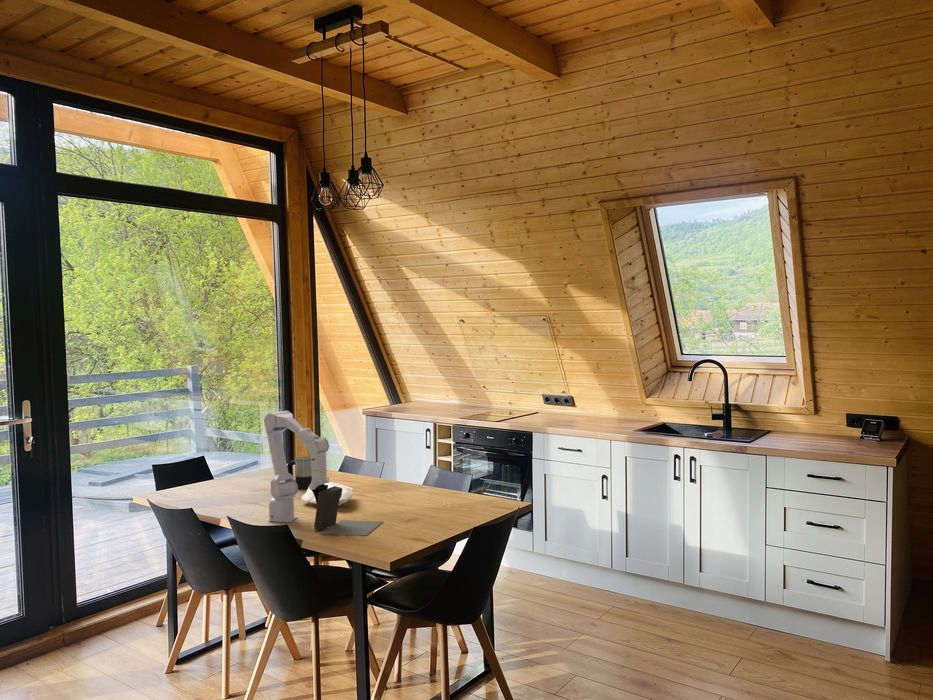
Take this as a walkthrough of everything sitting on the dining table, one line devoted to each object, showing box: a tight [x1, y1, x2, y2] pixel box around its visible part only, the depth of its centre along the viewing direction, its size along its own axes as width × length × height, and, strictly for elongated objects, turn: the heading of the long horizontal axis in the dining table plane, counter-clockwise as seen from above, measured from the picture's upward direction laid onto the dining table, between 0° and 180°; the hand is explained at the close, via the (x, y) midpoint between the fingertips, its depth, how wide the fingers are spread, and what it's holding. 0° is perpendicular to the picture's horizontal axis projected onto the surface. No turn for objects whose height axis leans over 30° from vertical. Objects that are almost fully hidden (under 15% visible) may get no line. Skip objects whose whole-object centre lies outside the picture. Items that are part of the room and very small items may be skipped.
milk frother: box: [287, 456, 312, 490], centre depth 360 cm, size 14×16×15 cm
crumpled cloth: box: [300, 481, 355, 507], centre depth 329 cm, size 24×35×9 cm
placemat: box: [320, 519, 384, 537], centre depth 286 cm, size 18×20×1 cm
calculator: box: [313, 486, 342, 532], centre depth 288 cm, size 11×4×15 cm, turn 159°
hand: (320, 504), depth 288 cm, fingers closed
